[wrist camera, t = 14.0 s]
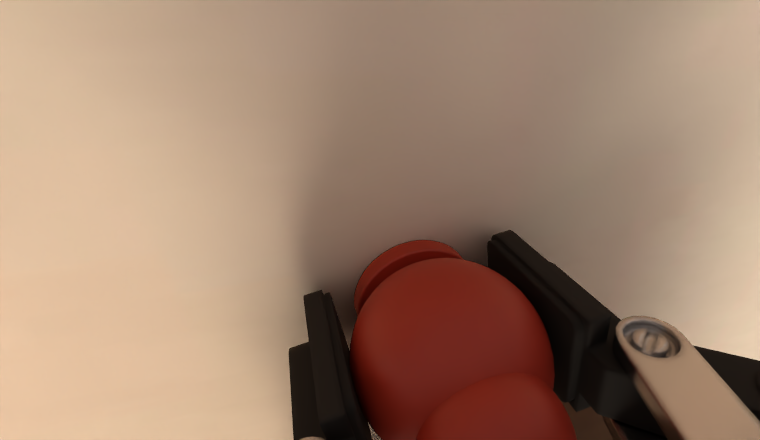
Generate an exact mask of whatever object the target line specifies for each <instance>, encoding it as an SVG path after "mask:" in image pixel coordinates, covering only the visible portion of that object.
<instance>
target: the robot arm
mask: <svg viewBox="0 0 760 440" xmlns="http://www.w3.org/2000/svg"><path fill="white" fill-rule="evenodd" d="M487 250H488V268H490V269H492V270H494V271H495V272H497V273H499V274H500V275H502V276H504V277H505V278H507V279H508V280H509V281H510V282H511V283H513V284H514V285H515V286H516V287H517V288H518V289H519V290H521V291H522V293H523V294H524V295H525V296H526V298H527V299H528V300H529V301H530V302H531V304H532V305H533V306H534V308H535V309H536V311H537V313H538V314H539V316H540V318H541V320H542V322H543V324H544V326H545V328H546V331H547V333H548V336H549V340H550V343H551V347H552V352H553V357H554V372H555V378H554V388H553V391H554V392H555V394H556V395H557V396H558V398H559V399H560V400H561V401H562V402H564V403H566V402H569V404H570V405H571V406H572V407H573V409H574V410H575V411H576V412H578V411H581V410H583V409H586V408H588V407H592V409H593V410H594V411H595V412H596V413H597V414H599V415H601V416H602V419H603V421H604V423H605V424H606V426H607V428H608V430H609V432H610V434H611V436H612V438H613V440H760V361H758V360H753V359H749V358H745V357H740V356H736V355H732V354H727V353H723V352H719V351H714V350H710V349H706V348H701V347H697V346H693V345H692V344H691V343H690V342H689V341H688V340H687V338H686V337H685V336H684V335H683V334H682V333H681V332H680V331H678V330H677V329H676V328H675V327H673V326H671V325H670V324H668V323H666V322H664V321H661V320H659V319H656V318H652V317H647V316H631V317H627V318H624V319H623V320H620V319H619V318H618V317H617V316H616V315H614V314H613V313H612V312H611V311H610V310H608V309H607V308H606V307H605V306H604V305H602V304H601V303H600V302H599V301H598V300H596V299H595V298H594V297H593V296H592V295H591V294H589V293H588V292H587V291H586V290H585V289H583V288H582V287H581V286H580V285H579V284H577V283H576V282H575V281H574V280H573V279H571V278H570V277H569V276H568V275H567V274H566V273H564V272H563V271H562V270H561V269H560V268H558V267H557V266H556V265H555V264H553V263H551V262H548V261H547V260H546V259H545V258H544V257H542V256H541V255H540V254H539V253H538V252H537V251H535V250H534V249H533V248H532V247H531V246H530V245H528V244H527V243H526V242H525V241H524V240H522V239H521V238H520V237H519V236H518V235H517V234H515V233H514V232H513V231H511V230H508V231H505V232H501V233H498V234H495V235H493V236H492V238H491V241H489V242H488V243H487ZM304 306H305V314H306V322H307V330H308V338H309V342H307V343H304V344H301V345H298V346H295V347H292V348H290V349H289V366H290V384H291V401H292V418H293V436H294V440H372V437H371V433H370V429H369V425H368V421H367V419H366V418H365V416H364V414H363V412H362V410H361V407H360V404H359V401H358V398H357V394H356V391H355V387H354V384H353V380H352V376H351V371H350V364H349V362H350V350H349V347H348V344H347V342H346V339H345V336H344V333H343V330H342V327H341V324H340V321H339V318H338V315H337V312H336V309H335V306H334V303H333V300H332V297H331V294H330V292H329V293H326V294H323V292H322V290H320V291H316V292H313V293H310V294H307V295H304Z"/></svg>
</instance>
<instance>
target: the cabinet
mask: <svg viewBox="0 0 760 440" xmlns="http://www.w3.org/2000/svg"><path fill="white" fill-rule="evenodd" d="M560 401H561V400H560ZM561 402H562V401H561ZM562 404H563V406H564V407H565V409H566V411H567V413H568V415H569V417H570V419H571V422H572V424H573V427H574V430H575V433H576V437H577V440H613V438H612V436H611V434H610V432H609V430H608V428H607V426H606V424H605V423H604V421H603V419H602V416H601V415H599V414H597V413H596V412H595V411H594V410H593V409H592V407H588V408H586V409H583V410H581V411H578V412H576V411H575V410H574V409H573V407H572V406H571V405H570V404H569V402H566V403H564V402H562Z"/></svg>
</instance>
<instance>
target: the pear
mask: <svg viewBox="0 0 760 440" xmlns="http://www.w3.org/2000/svg"><path fill="white" fill-rule="evenodd" d="M354 305H355V310H356V314H357V317H358V318H357V320H356V323H355V325H354V329H353V333H352V338H351V343H350V362H349V364H350V371H351V376H352V380H353V384H354V387H355V391H356V394H357V398H358V401H359V404H360V407H361V410H362V412H363V414H364V416H365V418H366V419H367V421H368V423H369V424H370V425H371V427H372V428H373V430H374V431H375V432H376V433H377V435H378V436H379V437H380V438H381V439H382V440H577V437H576V433H575V430H574V427H573V424H572V422H571V419H570V417H569V415H568V413H567V411H566V409H565V407H564V406H563V404H562V402H561V401H560V399H559V398H558V396H557V395H556V394H555V392H554V391H553V388H554V378H555V372H554V357H553V352H552V347H551V343H550V340H549V336H548V333H547V331H546V328H545V326H544V324H543V322H542V320H541V318H540V316H539V314H538V313H537V311H536V309H535V308H534V306H533V305H532V304H531V302H530V301H529V300H528V299H527V298H526V296H525V295H524V294H523V293H522V291H521V290H519V289H518V288H517V287H516V286H515V285H514V284H513V283H511V282H510V281H509V280H508V279H507V278H505V277H504V276H502V275H500V274H499V273H497V272H495V271H494V270H492V269H490V268H488V267H485V266H483V265H481V264H478V263H475V262H471V261H467V260H464V259H463V258H462V257H461V256H460V254H459V253H458V252H457V251H456V250H454V249H453V248H452V247H450V246H448V245H446V244H443V243H440V242H437V241H431V240H416V241H411V242H406V243H403V244H400V245H398V246H395V247H393V248H391V249H389V250H387V251H386V252H384V253H383V254H381V255H380V256H378V257H377V258H376V259H375V260H374V261H373V262H372V263H371V264H370V265H369V266H368V267H367V268H366V270H365V271H364V272H363V274H362V276H361V278H360V279H359V282H358V284H357V287H356V291H355V296H354Z"/></svg>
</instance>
